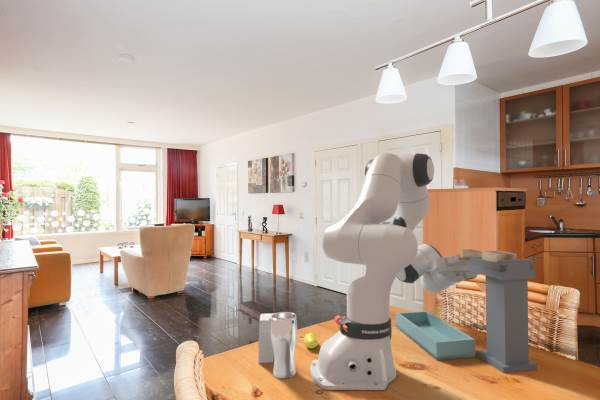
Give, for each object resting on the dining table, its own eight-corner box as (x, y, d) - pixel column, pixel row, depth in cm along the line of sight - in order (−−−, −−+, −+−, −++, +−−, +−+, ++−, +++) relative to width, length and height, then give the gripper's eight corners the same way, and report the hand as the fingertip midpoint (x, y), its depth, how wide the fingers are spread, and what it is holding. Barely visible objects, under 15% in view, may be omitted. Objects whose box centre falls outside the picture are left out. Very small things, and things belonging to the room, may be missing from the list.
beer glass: (282, 364, 93) (281, 309, 93) (302, 371, 89) (302, 314, 89) (265, 374, 88) (265, 316, 88) (286, 382, 84) (286, 322, 84)
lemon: (316, 341, 109) (316, 329, 109) (318, 352, 101) (318, 339, 101) (303, 341, 109) (303, 329, 109) (304, 352, 101) (304, 339, 101)
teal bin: (436, 360, 95) (436, 342, 95) (395, 326, 120) (395, 312, 120) (475, 356, 97) (474, 339, 97) (427, 324, 122) (426, 310, 122)
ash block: (497, 269, 92) (497, 254, 92) (458, 259, 109) (458, 246, 109) (516, 268, 93) (516, 253, 93) (475, 258, 110) (475, 246, 110)
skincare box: (259, 354, 100) (259, 313, 100) (275, 353, 100) (274, 312, 100) (258, 364, 93) (257, 320, 94) (274, 363, 94) (273, 319, 94)
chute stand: (503, 372, 87) (501, 261, 88) (470, 351, 100) (468, 253, 100) (537, 369, 89) (535, 259, 89) (500, 348, 102) (498, 252, 102)
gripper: (420, 263, 118) (439, 247, 106) (473, 261, 121) (497, 246, 109) (425, 280, 115) (445, 266, 103) (479, 278, 118) (505, 264, 106)
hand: (472, 256), depth 106 cm, fingers open, 8 cm apart
